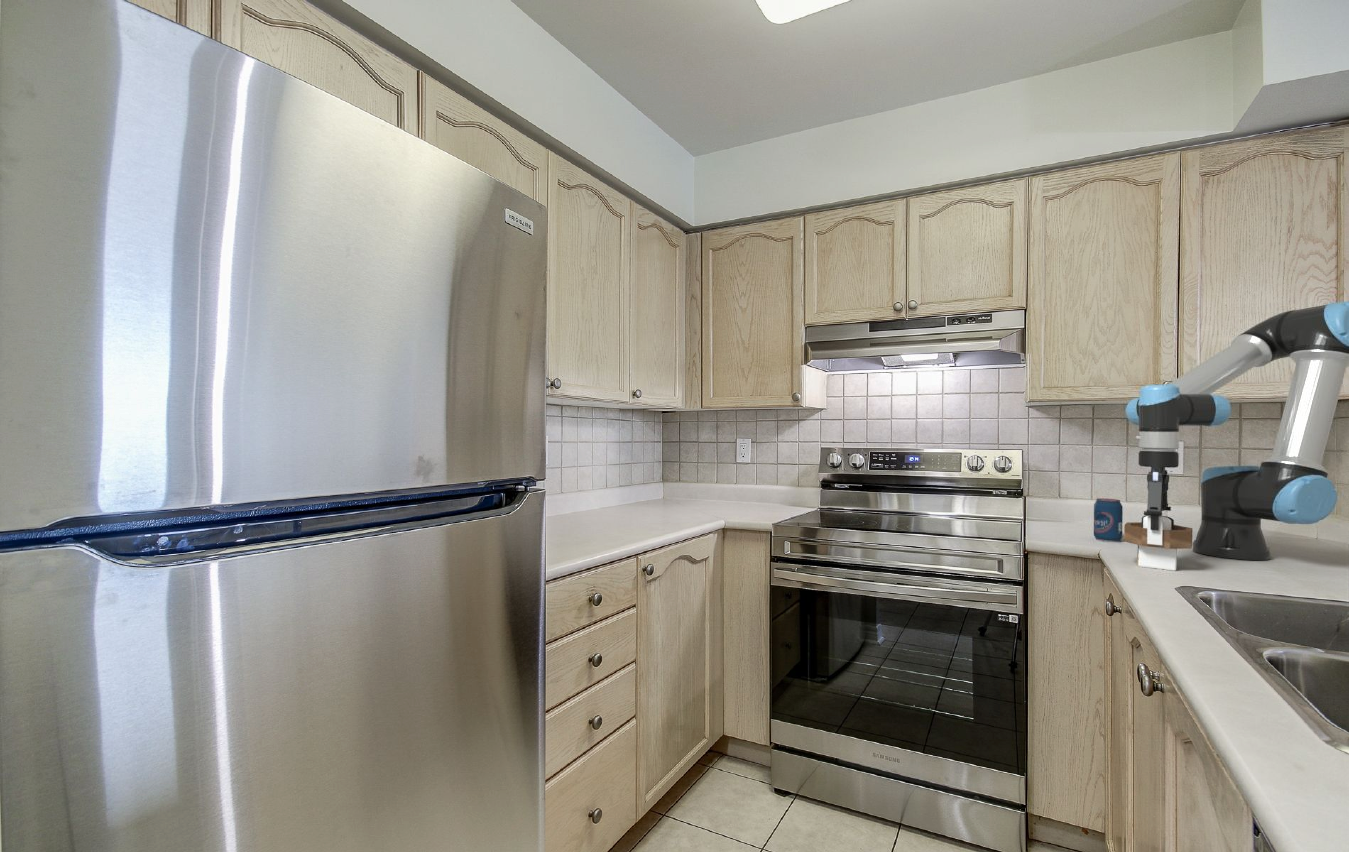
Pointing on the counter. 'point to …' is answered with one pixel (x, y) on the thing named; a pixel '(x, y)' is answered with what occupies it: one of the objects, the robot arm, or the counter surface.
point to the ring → (1170, 538)
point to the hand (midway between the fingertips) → (1157, 540)
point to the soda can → (1108, 520)
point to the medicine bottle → (1158, 551)
